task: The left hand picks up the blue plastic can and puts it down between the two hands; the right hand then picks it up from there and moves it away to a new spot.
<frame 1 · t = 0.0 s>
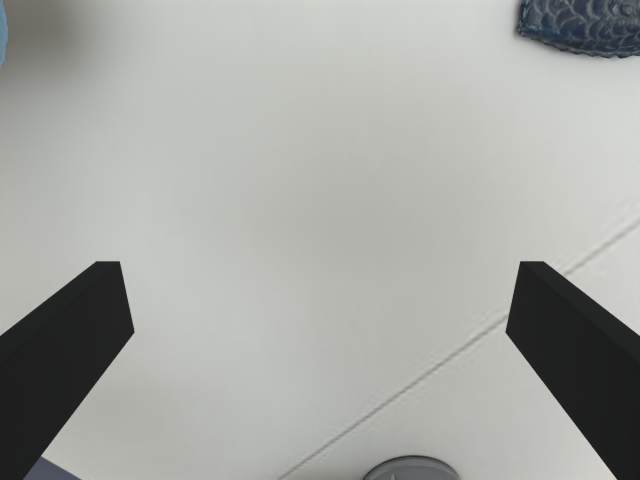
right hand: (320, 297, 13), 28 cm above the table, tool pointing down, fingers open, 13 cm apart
fish model: (631, 12, 34), on the table
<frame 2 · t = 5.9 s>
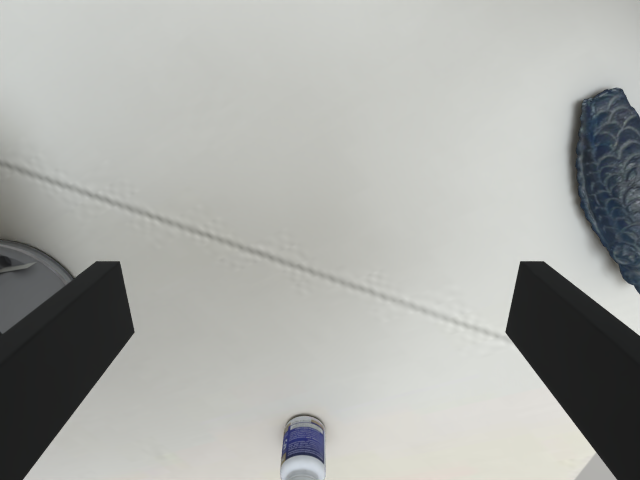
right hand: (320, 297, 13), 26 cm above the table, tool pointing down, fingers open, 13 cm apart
pill bottle: (304, 428, 50), on the table
fish model: (612, 193, 38), on the table
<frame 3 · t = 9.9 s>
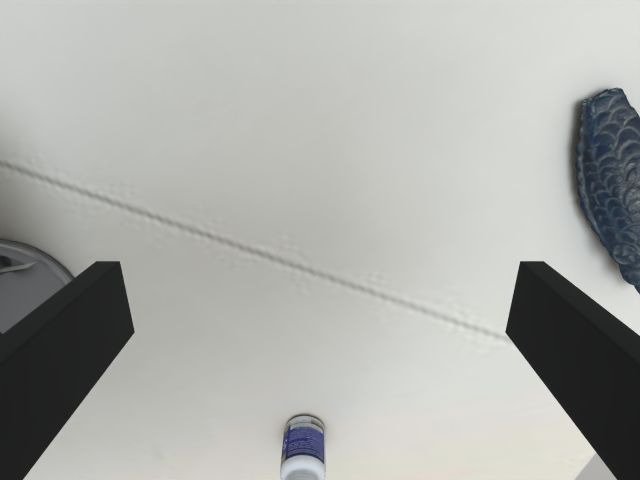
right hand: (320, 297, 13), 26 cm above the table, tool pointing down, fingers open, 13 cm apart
pill bottle: (304, 428, 50), on the table
fish model: (612, 193, 38), on the table
when the left hand's fingers open (4 cm above the table, at t = 14.2 s): can drops 1 cm, on the table.
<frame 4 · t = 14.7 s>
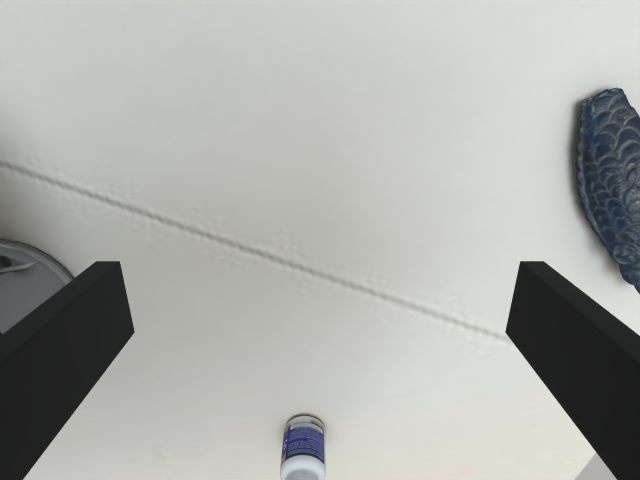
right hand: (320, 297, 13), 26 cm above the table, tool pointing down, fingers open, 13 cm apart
pill bottle: (304, 428, 50), on the table
fish model: (612, 193, 38), on the table
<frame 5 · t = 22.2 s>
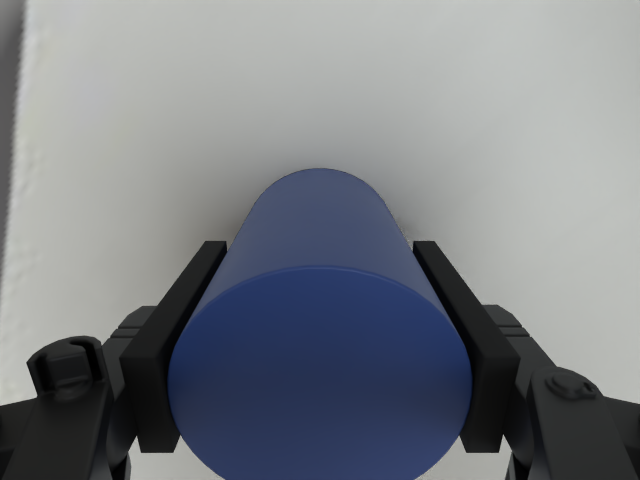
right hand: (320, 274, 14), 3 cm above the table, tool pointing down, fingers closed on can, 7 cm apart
can: (319, 242, 18), on the table, touching right hand
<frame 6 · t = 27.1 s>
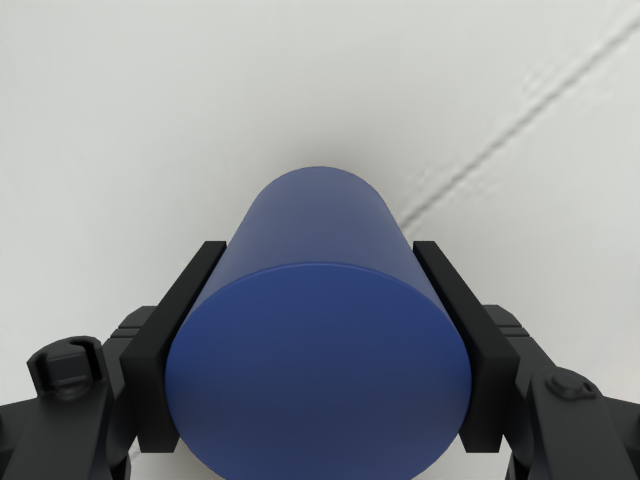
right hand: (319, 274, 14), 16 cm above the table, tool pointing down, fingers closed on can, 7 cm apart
can: (319, 241, 18), point 13 cm above the table, touching right hand
when the right hand's fingers open (4 cm above the table, at t = 32.0 s): can drops 1 cm, on the table.
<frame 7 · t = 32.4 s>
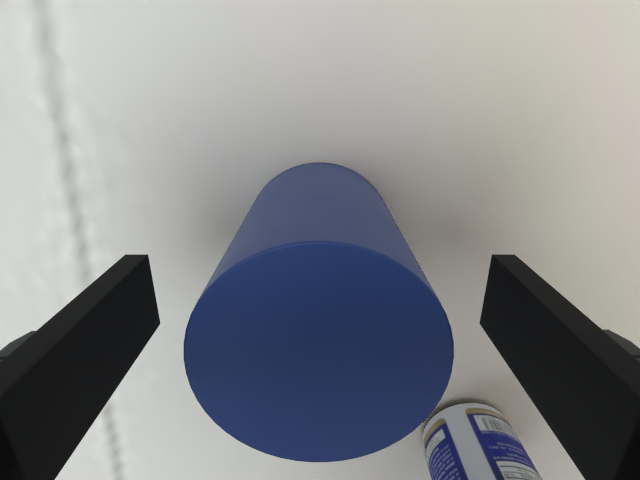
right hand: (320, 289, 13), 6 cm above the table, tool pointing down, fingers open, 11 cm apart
can: (319, 233, 19), on the table
pill bottle: (463, 430, 23), on the table
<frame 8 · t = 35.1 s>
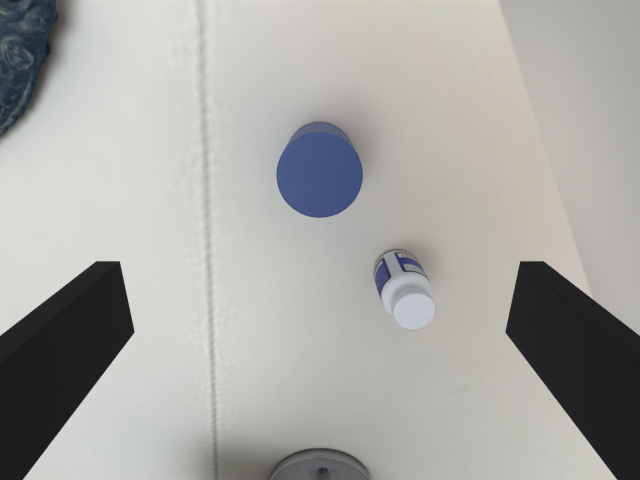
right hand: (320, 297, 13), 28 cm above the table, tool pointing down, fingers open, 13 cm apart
can: (319, 156, 39), on the table
pill bottle: (396, 269, 44), on the table
fish model: (3, 74, 37), on the table
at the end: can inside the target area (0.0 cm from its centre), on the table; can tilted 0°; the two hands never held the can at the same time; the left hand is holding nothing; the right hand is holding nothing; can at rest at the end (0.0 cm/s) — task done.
